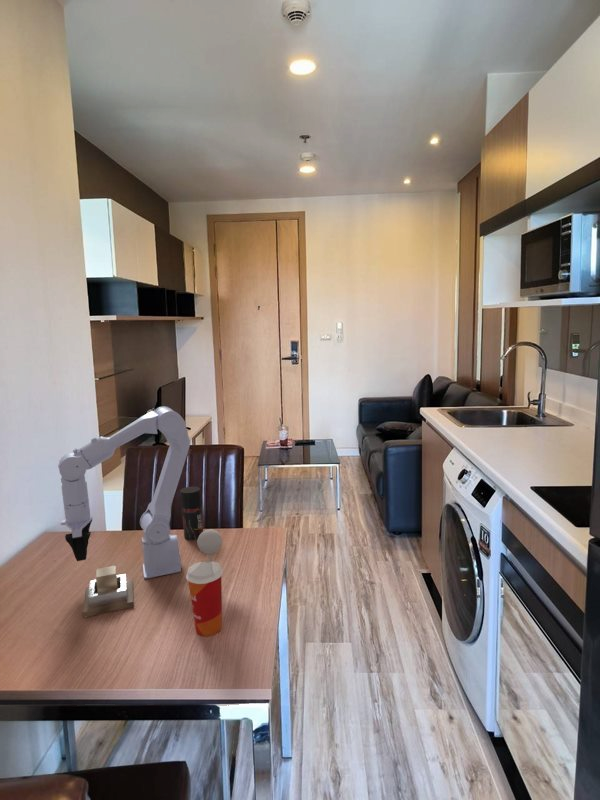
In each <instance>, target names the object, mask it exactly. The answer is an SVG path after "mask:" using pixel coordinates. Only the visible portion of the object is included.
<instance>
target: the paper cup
mask: <svg viewBox="0 0 600 800" xmlns="http://www.w3.org/2000/svg"><path fill="white" fill-rule="evenodd" d="M223 574H224V571H223V569H222V567H221V564H219V563H218V562H216V561H213V560H212V562H210V560H208V561H204V562H203V561H200V562H196V563H194V564H192V565H191V566H189V568H188V569H187V573H186V575H185V579H186V580H187V581H188V582H187V583H188V589H189V595H190V596H189V597H190V603H191V610H192V614H193V615H192V616H193V621H194V623H193V624H194V626H195V627H194V628H195V632H196V635H199V636H201V637H212V636H215V635H217V634H219V633H220V632H221V630H222V626H223V601H222V600H223V599H222V598H223V596H222V592H223V591H222V589H223V588H222V576H223Z"/></svg>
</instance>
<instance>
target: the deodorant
mask: <svg viewBox="0 0 600 800" xmlns="http://www.w3.org/2000/svg"><path fill="white" fill-rule="evenodd" d="M179 492H180V493H179V494H180V502H181V503H180V504H181V514H182V516H181V517H182V525H183V537H184V539H185V540H188V541H195V540H198V537H199V535H200V534H201V533H202V532H203V531H204V522H203V508H202V497H201V488H200V487H199V486H187V487H183V488H182V489H180V491H179Z"/></svg>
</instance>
